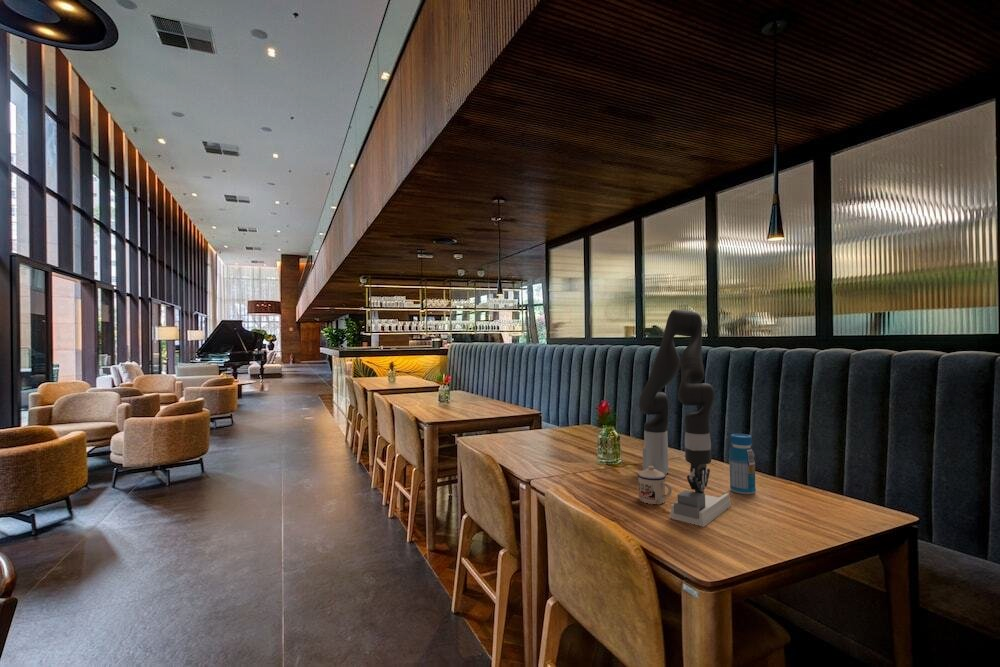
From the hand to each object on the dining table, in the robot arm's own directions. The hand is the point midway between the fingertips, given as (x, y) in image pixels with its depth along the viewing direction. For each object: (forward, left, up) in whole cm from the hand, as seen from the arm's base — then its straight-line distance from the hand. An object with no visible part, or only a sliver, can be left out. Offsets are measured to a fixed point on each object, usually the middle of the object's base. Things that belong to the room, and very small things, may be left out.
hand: (699, 502), depth 142 cm
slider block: (0, -6, -1) cm, 6 cm away
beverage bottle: (+3, +32, -4) cm, 33 cm away
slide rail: (0, +2, -4) cm, 4 cm away
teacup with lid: (-15, +1, -4) cm, 16 cm away
